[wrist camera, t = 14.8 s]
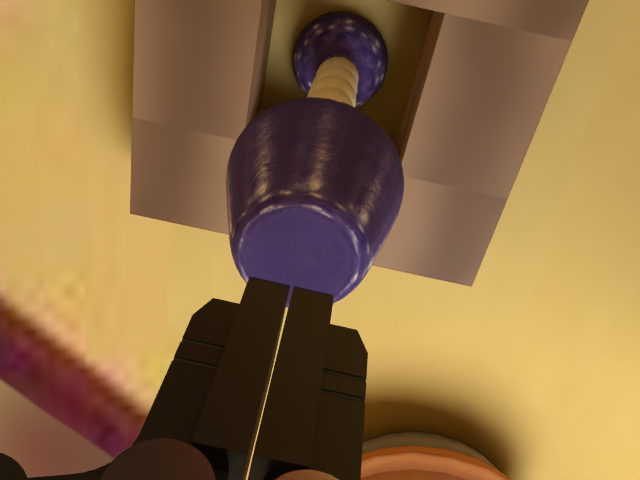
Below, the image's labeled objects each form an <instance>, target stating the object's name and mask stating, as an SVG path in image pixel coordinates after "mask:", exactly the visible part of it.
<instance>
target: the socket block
mask: <svg viewBox="0 0 640 480" xmlns="http://www.w3.org/2000/svg"><path fill="white" fill-rule="evenodd" d="M388 1H392V2H397V3H401V4H406V5H410V6H415V7H419V8H424V9H428V10H433V12H432V15H431V19H430V22H429V26H428V30H427V33H426V37H425V40H424V44H423V48H422V51H421V55H420V58H419V62H418V65H417V69H416V73H415V76H414V80H413V83H412V87H411V91H410V94H409V98H408V101H407V105H406V108H405V112H404V116H403V119H402V123H401V126H400V130H399V134H398V137H397V138H393V137H389V138H390V139H391V141H392V143H393V144H394V146H395V148H396V150H397V152H398V154H399V157H400V161H401V164H402V168H403V176H404V193H403V199H402V203H401V207H400V210H399V214H398V216H397V218H396V220H395V222H394V224H393V226H392V228H391V230H390V232H389V234H388V236H387V238H386V240H385V242H384V244H383V246H382V248H381V249H380V251H379V253H378V255H377V257H376V258H375V260H374V262H373V264H372V265H373V266H378V267H382V268H387V269H392V270H396V271H401V272H406V273H410V274H415V275H420V276H424V277H429V278H434V279H439V280H443V281H448V282H453V283H457V284H462V285H467V286H471V287H472V284H473V282H474V280H475V277H476V275H477V272H478V270H479V267H480V265H481V262H482V260H483V258H484V255H485V253H486V250H487V248H488V245H489V243H490V240H491V238H492V236H493V233H494V231H495V228H496V226H497V223H498V221H499V218H500V216H501V214H502V211H503V209H504V206H505V204H506V201H507V199H508V196H509V194H510V192H511V189H512V187H513V184H514V182H515V179H516V177H517V175H518V172H519V170H520V167H521V165H522V162H523V160H524V157H525V155H526V153H527V150H528V148H529V145H530V143H531V140H532V138H533V135H534V133H535V131H536V128H537V126H538V123H539V121H540V118H541V116H542V113H543V111H544V109H545V106H546V104H547V101H548V99H549V96H550V94H551V92H552V89H553V87H554V84H555V82H556V79H557V77H558V74H559V72H560V70H561V67H562V65H563V62H564V60H565V57H566V55H567V52H568V50H569V48H570V45H571V43H572V40H573V38H574V35H575V33H576V30H577V28H578V26H579V23H580V21H581V18H582V16H583V13H584V11H585V9H586V6H587V4H588V1H589V0H388ZM275 5H276V0H135V22H134V66H133V109H132V153H131V196H130V214H135V215H139V216H144V217H149V218H153V219H158V220H163V221H167V222H172V223H177V224H181V225H186V226H191V227H195V228H200V229H205V230H209V231H214V232H219V233H223V234H228V235H229V225H228V212H227V193H226V172H227V165H228V161H229V158H230V154H231V151H232V149H233V147H234V145H235V143H236V140H237V138H238V137H239V136H240V134H241V133H242V131H243V130H244V129H245V127H246V126H247V125H248V124H249V123H250V122H251V121H252V120H253V119H254V118H255V117H257V116H258V115H259V114H260V113H262V112H264V111H266V110H265V109H261V103H262V96H263V89H264V82H265V75H266V68H267V61H268V54H269V47H270V40H271V33H272V26H273V19H274V12H275Z"/></svg>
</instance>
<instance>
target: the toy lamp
mask: <svg viewBox="0 0 640 480" xmlns="http://www.w3.org/2000/svg"><path fill="white" fill-rule="evenodd" d="M387 65H388V55H387V49H386V46H385V43H384V40H383V39H382V37H381V35H380V33H379V32H378V31H377V30H376V29H375V27H374V26H373V25H372V24H371V23H370V22H368V21H367V20H366V19H364V18H362V17H360V16H358V15H355V14H352V13H345V12H333V13H328V14H325V15H322V16H320V17H319V18H317V19H315V20H313V21H312V22H311V23H310V24H309V25H308V26H307V27H306V28H305V29H304V30H303V31H302V32H301V34H300V35H299V38H298V39H297V41H296V44H295V47H294V51H293V71H294V75H295V78H296V81H297V83H298V85H299V87H300V88H301V90H302V91H303V92H304V94H305V95H306V96H307V98H296V99H292V100H289V101H284V102H282V103H279V104H276V105H274V106H272V107H270V108H269V109H267V110H266V111H264V112H262V113H260V114H259V115H258V116H257V117H255V118H254V119H253V120H252V121H251V122H250V123H249V124H248V125H247V126H246V127H245V129H244V130H243V131H242V133H241V134H240V136H239V137H238V138H237V140H236V143H235V145H234V147H233V149H232V151H231V154H230V158H229V161H228V165H227V172H226V193H227V212H228V225H229V239H230V247H231V252H232V257H233V260H234V263H235V265H236V267H237V269H238V271H239V273H240V275H241V277H242V278H243V279H244V280H245V282H246V283H247V282H248V280H249V277H250V276H251V277H256V278H260V279H265V280H269V281H274V282H278V283H282V284H287V285H290V289H289V294H288V299H287V303H286V307H289V304H290V299H291V295H292V291H293V287H294V286H297V287H301V288H306V289H310V290H314V291H319V292H323V293H328V294H332V295H334V298H333V303H335V302H337V301H339V300H341V299H342V298H344V297H345V296H347V295H348V294H349V293H350V292H352V291H353V290H354V289H355V288H356V287H357V286H358V285H359V284H360V282H361V281H362V280H363V278H364V277H365V276H366V274H367V272H368V271H369V269H370V267H371V266H372V264H373V262H374V260H375V258H376V257H377V255H378V253H379V251H380V249H381V248H382V246H383V244H384V242H385V240H386V238H387V236H388V234H389V232H390V230H391V228H392V226H393V224H394V222H395V220H396V218H397V216H398V214H399V210H400V207H401V203H402V199H403V193H404V176H403V168H402V164H401V161H400V157H399V154H398V152H397V150H396V148H395V146H394V144H393V143H392V141H391V139H390V138H389V136H388V135H387V133H386V132H385V131H384V129H383V128H381V127H380V126H379V125H378V124H377V123H376V122H375V121H374V120H373V119H372V118H371V117H370V116H368V115H366V114H365V113H363V112H362V111H360V110H359V109H357V108H356V107H358V106H360V105H362V104H364V103H365V102H367V101H368V100H369V99H370V98H372V97H373V96H374V95H375V94H376V92H377V91H378V90H379V88H380V87H381V85H382V83H383V81H384V79H385V76H386V72H387Z"/></svg>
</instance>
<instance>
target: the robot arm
mask: <svg viewBox="0 0 640 480" xmlns="http://www.w3.org/2000/svg"><path fill="white" fill-rule="evenodd" d="M289 289H290V285H287V284H282V283H278V282H274V281H269V280H265V279H260V278H256V277H251V276H250V277H249V280H248V282H247V285H246V288H245V291H244V294H243V296H242V299H241V302H240V304H238V303H233V302H229V301H224V300H220V299H215V298H213V299H212V300H210V301H209V302H208V303H207V304H205V305H204V306H203V307H202V308H200V309H199V310H198V311H197V312H196V313H194V314H193V315H192V318H191V320H190V322H189V324H188V327H187V329H186V331H185V333H184V336H183V339H182V342H180V345H179V347H178V349H177V351H176V353H175V356H174V360H173V361H172V362H171V365H170V367H169V369H168V371H167V374H166V376H165V378H164V380H163V383H162V385H161V387H160V389H159V391H158V394H157V396H156V398H155V400H154V403H153V405H152V407H151V409H150V412H149V414H148V416H147V418H146V421H145V423H144V425H143V427H142V429H141V432H140V434H139V435H138V437H137V439H136V440H135V442H134V443H133V444H132V446H130V447H128V448H127V449H125V450H124V451H122V452H121V453H120V454H118V455H117V456H116V457H115V458H114V459H113V460H112V461H111V462H110V463H108V464H107V465H105V466H102V467H100V468H97V469H95V470H91V471H88V472H84V473H78V474H70V475H57V476H47V477H46V476H45V477H34V478H27V476H26V474H25V472H24V470H23V468H22V467H21V466H20V465H19V463H18V462H16V461H15V460H14V459H12V458H11V457H9V456H7V455H5V454H3V453H0V480H245V479H246V475H247V471H248V467H249V463H250V459H251V455H252V450H253V446H254V442H255V438H256V434H257V430H258V426H259V422H260V417H261V413H262V409H263V405H264V401H265V397H266V393H267V389H268V385H269V380H270V376H271V372H272V368H273V363H274V359H275V354H276V350H277V345H278V340H279V336H280V331H281V327H282V322H283V317H284V313H285V308H286V303H287V299H288V294H289ZM333 298H334V295H332V294H328V293H323V292H319V291H314V290H310V289H306V288H301V287H297V286H294V287H293V291H292V295H291V299H290V304H289V308H288V312H287V316H286V320H285V324H284V329H283V333H282V337H281V341H280V345H279V349H278V354H277V358H276V362H275V366H274V370H273V374H272V379H271V383H270V387H269V391H268V395H267V399H266V404H265V408H264V412H263V416H262V420H261V424H260V429H259V433H258V437H257V441H256V445H255V449H254V454H253V458H252V463H251V467H250V472H249V477H248V480H361V464H362V446H363V429H364V411H365V403H364V401H365V393H366V376H367V358H368V353H367V351H366V348H365V346H364V344H363V342H362V340H361V337H360V335H359V333H358V331H357V330H355V329H350V328H346V327H341V326H337V325H332V324H330V319H331V312H332V305H333Z"/></svg>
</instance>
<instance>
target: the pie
mask: <svg viewBox="0 0 640 480" xmlns="http://www.w3.org/2000/svg"><path fill="white" fill-rule="evenodd" d="M361 480H511V479H510V478H509V477H507V476H506V475H505V474H503V473H502V472H500V471H498V470H497V469H496V468H495V467H494V466H493V465H492V464H491V463H490V462H489V461H488V460H487V459H486V458H485V457H484V456H483V455H482V454H481V453H480V452H478V451H476V450H475V449H473V448H471V447H469V446H468V445H466V444H464V443H463V442H461V441H458V440H455V439H452V438H448V437H445V436H442V435H439V434H432V433H422V432H403V433H392V434H386V435H383V436H380V437H377V438H374V439H370V440H367V441H365V442H364V443H363V446H362V464H361Z"/></svg>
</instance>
